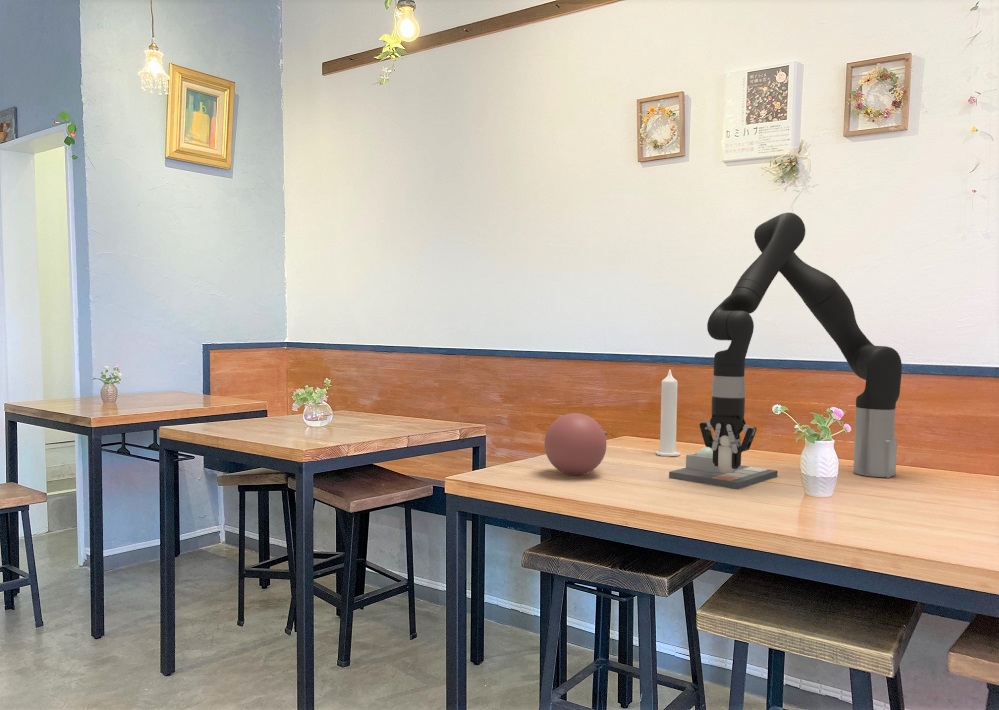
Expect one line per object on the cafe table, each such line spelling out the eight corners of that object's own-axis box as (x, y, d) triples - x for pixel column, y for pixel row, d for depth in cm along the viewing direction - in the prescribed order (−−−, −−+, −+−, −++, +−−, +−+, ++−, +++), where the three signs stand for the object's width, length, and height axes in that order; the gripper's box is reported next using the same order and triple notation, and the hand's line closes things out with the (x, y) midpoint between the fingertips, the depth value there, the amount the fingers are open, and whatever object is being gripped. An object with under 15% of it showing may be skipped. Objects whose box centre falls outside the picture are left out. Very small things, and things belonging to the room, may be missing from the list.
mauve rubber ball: (630, 474, 191) (632, 413, 191) (575, 483, 178) (576, 418, 178) (586, 464, 203) (587, 407, 202) (531, 473, 190) (532, 412, 190)
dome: (722, 468, 192) (722, 447, 192) (712, 471, 188) (712, 449, 188) (702, 465, 196) (703, 444, 196) (692, 468, 192) (693, 446, 192)
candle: (654, 456, 219) (657, 369, 218) (655, 452, 226) (657, 368, 225) (680, 457, 217) (682, 370, 216) (680, 453, 224) (682, 369, 223)
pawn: (738, 471, 180) (739, 433, 180) (729, 473, 177) (730, 434, 177) (723, 469, 183) (724, 431, 183) (714, 471, 180) (715, 432, 180)
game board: (777, 476, 191) (777, 456, 191) (738, 489, 175) (738, 467, 175) (711, 466, 203) (712, 448, 203) (669, 477, 187) (669, 457, 187)
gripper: (764, 396, 177) (762, 469, 178) (708, 392, 187) (706, 461, 188) (750, 398, 172) (747, 473, 172) (693, 393, 181) (691, 465, 182)
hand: (726, 466), depth 180 cm, fingers closed on pawn, 3 cm apart
